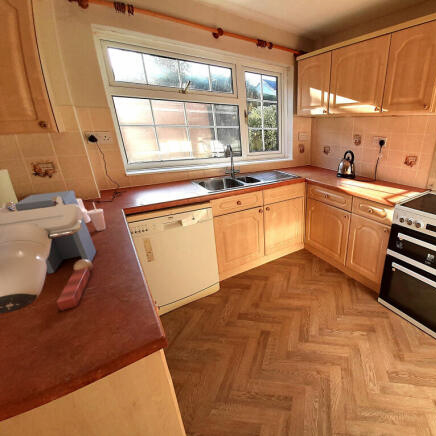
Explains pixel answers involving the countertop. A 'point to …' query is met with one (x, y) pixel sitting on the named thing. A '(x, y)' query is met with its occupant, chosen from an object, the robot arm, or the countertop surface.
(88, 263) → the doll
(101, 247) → the countertop surface
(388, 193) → the countertop surface
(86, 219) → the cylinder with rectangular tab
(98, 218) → the smoothie
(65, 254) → the shelf
